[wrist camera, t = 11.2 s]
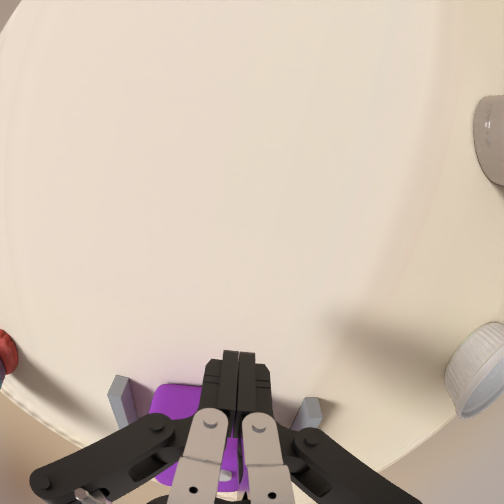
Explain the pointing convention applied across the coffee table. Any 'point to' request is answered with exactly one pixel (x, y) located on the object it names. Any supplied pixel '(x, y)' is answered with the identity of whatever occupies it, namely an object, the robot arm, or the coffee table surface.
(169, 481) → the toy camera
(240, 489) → the robot arm
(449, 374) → the ramekin
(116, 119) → the coffee table surface
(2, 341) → the stacking bear
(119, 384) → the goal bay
